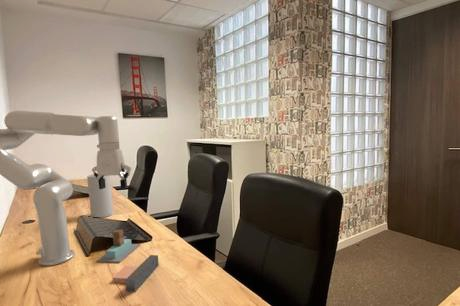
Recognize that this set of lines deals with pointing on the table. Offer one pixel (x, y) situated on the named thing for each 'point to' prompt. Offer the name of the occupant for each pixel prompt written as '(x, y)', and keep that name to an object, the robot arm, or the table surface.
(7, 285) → the table surface
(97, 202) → the cylinder vase
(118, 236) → the push block
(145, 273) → the bar
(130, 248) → the mat
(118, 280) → the terracotta tile
